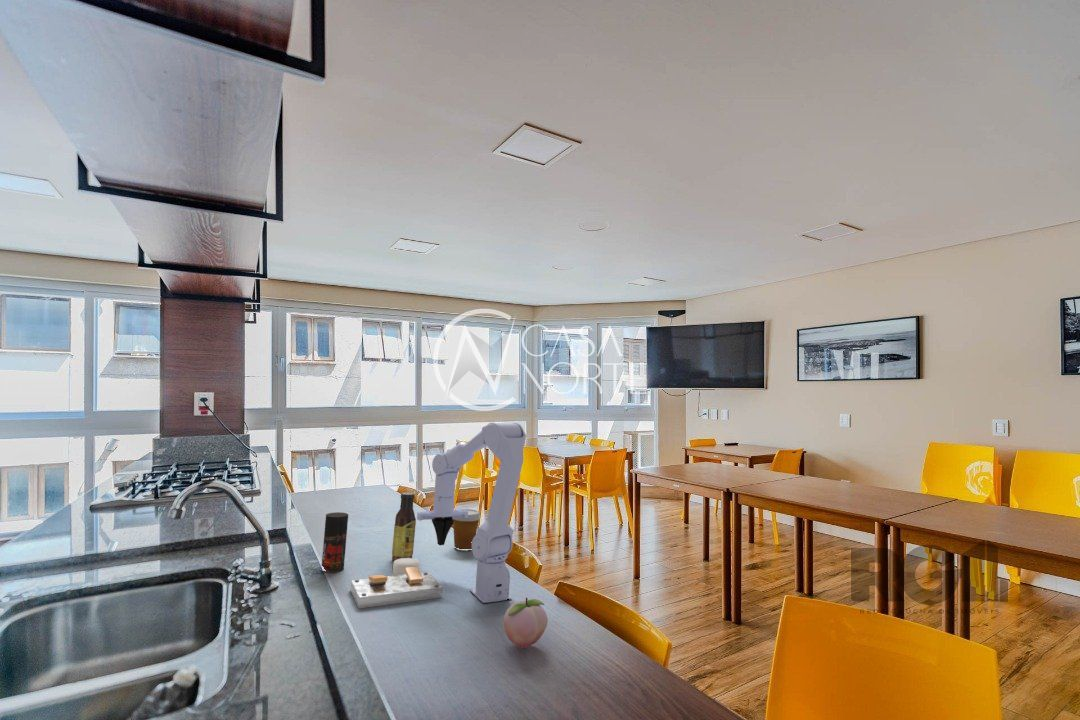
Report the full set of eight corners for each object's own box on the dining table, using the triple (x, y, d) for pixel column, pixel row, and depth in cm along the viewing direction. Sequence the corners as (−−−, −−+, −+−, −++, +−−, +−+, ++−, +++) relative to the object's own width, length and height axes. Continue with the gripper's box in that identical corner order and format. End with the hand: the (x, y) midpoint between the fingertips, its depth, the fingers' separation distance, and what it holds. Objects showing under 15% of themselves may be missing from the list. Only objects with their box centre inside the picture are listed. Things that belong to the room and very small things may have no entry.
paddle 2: (422, 582, 133) (423, 578, 132) (410, 583, 131) (410, 579, 131) (416, 569, 138) (417, 566, 138) (404, 571, 136) (405, 567, 136)
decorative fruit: (522, 633, 113) (525, 586, 114) (552, 647, 108) (555, 597, 108) (492, 648, 106) (495, 597, 106) (522, 663, 100) (525, 609, 101)
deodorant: (316, 569, 145) (321, 514, 146) (333, 564, 150) (338, 511, 152) (331, 574, 142) (336, 518, 144) (348, 568, 148) (352, 514, 149)
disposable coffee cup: (463, 554, 167) (466, 516, 168) (443, 548, 172) (446, 511, 173) (484, 548, 174) (486, 512, 175) (464, 542, 180) (466, 507, 181)
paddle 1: (387, 581, 128) (387, 577, 128) (373, 583, 127) (374, 578, 127) (381, 578, 133) (381, 574, 133) (368, 580, 132) (369, 576, 132)
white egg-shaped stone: (421, 579, 143) (422, 564, 143) (395, 582, 139) (397, 567, 140) (414, 571, 149) (415, 556, 149) (389, 574, 146) (391, 559, 146)
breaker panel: (441, 597, 130) (442, 584, 131) (358, 608, 121) (359, 594, 121) (427, 581, 141) (428, 569, 141) (350, 590, 132) (351, 577, 132)
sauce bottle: (406, 564, 154) (412, 496, 155) (387, 562, 155) (392, 494, 157) (416, 558, 160) (421, 492, 162) (397, 556, 161) (402, 490, 163)
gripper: (463, 492, 157) (460, 538, 156) (415, 494, 150) (411, 542, 149) (471, 497, 151) (468, 545, 150) (422, 499, 144) (418, 549, 143)
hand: (440, 544), depth 149 cm, fingers closed
